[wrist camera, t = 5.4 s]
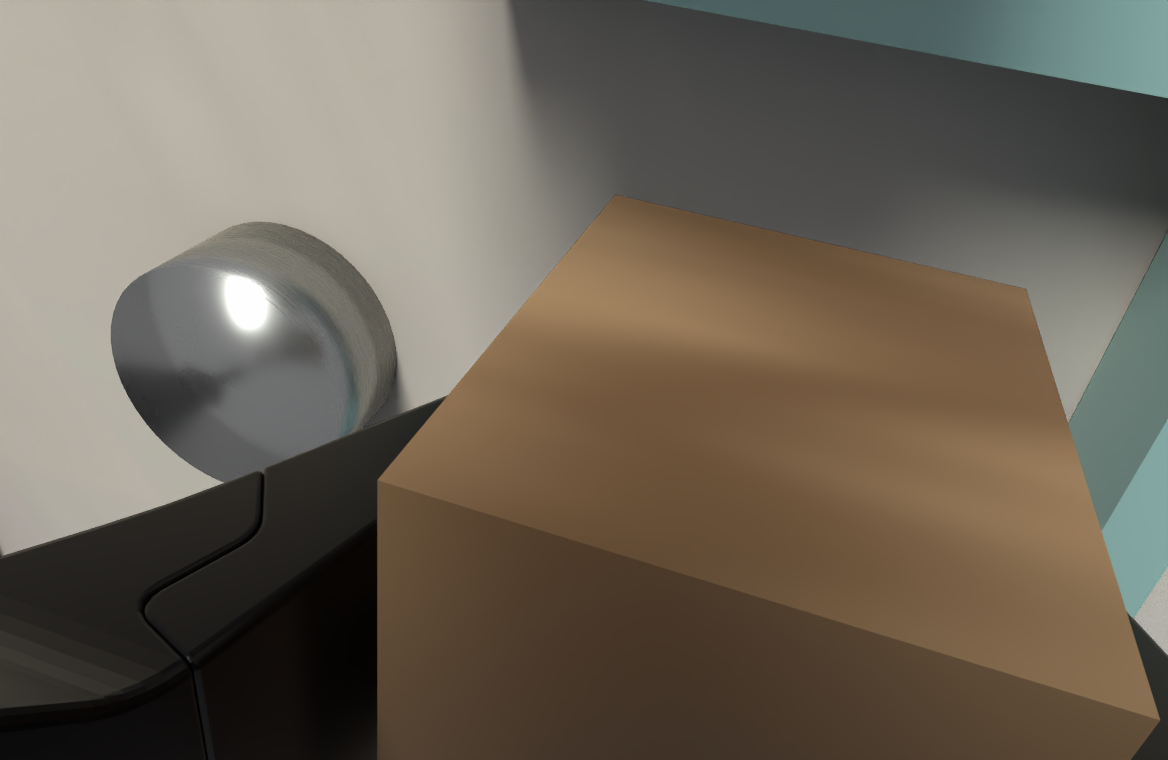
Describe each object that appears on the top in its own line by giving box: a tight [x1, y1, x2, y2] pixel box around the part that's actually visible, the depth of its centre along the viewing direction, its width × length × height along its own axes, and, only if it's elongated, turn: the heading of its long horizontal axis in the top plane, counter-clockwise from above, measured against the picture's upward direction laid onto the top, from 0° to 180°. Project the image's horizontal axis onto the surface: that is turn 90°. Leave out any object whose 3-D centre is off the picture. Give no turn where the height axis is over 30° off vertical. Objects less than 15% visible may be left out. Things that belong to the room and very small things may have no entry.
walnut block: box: [377, 195, 1160, 760], centre depth 8 cm, size 4×4×5 cm
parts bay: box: [645, 0, 1168, 618], centre depth 18 cm, size 16×14×4 cm
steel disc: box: [111, 222, 397, 483], centre depth 22 cm, size 6×6×3 cm
